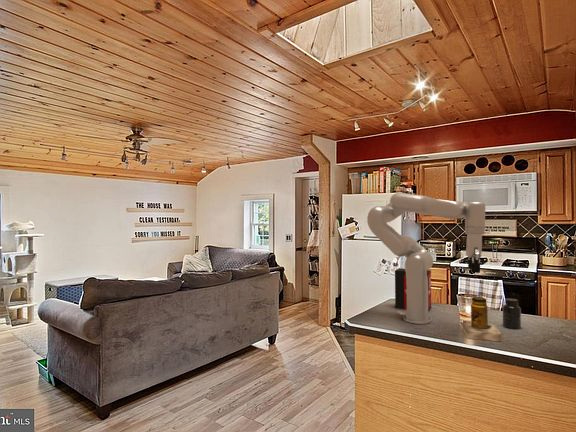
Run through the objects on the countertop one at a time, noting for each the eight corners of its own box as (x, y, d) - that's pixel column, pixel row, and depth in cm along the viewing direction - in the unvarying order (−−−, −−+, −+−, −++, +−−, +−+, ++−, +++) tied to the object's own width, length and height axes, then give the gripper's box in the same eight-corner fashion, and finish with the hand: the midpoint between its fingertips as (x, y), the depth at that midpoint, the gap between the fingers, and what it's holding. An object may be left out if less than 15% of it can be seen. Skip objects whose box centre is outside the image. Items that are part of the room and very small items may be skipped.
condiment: (468, 327, 150) (467, 298, 150) (472, 322, 157) (472, 294, 157) (488, 331, 146) (487, 301, 145) (492, 325, 152) (491, 297, 152)
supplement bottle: (523, 329, 157) (523, 301, 156) (506, 328, 158) (506, 301, 158) (517, 324, 163) (516, 298, 163) (500, 324, 165) (500, 297, 164)
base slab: (467, 338, 146) (467, 330, 146) (462, 329, 158) (462, 322, 158) (501, 341, 143) (501, 333, 143) (493, 331, 155) (493, 324, 154)
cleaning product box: (395, 308, 193) (394, 270, 193) (399, 304, 201) (398, 268, 201) (428, 312, 185) (428, 272, 185) (431, 308, 193) (430, 270, 193)
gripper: (462, 229, 166) (461, 267, 166) (467, 231, 149) (466, 273, 150) (481, 229, 163) (480, 268, 164) (488, 232, 147) (487, 274, 147)
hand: (473, 270), depth 157 cm, fingers open, 9 cm apart
